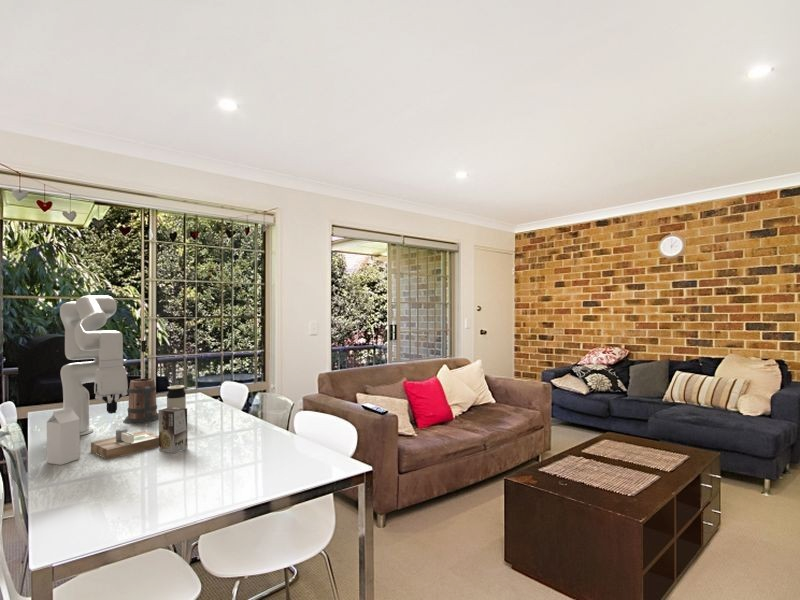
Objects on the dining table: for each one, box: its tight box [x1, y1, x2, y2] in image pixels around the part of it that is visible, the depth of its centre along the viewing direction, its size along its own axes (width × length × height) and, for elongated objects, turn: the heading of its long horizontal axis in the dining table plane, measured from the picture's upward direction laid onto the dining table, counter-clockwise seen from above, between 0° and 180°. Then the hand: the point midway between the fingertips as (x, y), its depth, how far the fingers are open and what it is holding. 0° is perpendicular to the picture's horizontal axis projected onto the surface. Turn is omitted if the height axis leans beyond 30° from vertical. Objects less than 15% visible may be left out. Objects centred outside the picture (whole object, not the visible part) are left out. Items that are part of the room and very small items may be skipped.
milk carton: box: [46, 408, 81, 466], centre depth 169 cm, size 7×7×19 cm
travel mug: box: [166, 384, 187, 408], centre depth 220 cm, size 8×8×18 cm
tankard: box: [122, 377, 159, 425], centre depth 227 cm, size 24×17×20 cm
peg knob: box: [115, 428, 134, 443], centre depth 180 cm, size 10×4×4 cm, turn 53°
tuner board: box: [90, 430, 159, 460], centre depth 184 cm, size 16×20×4 cm
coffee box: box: [157, 407, 189, 454], centre depth 181 cm, size 9×6×16 cm
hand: (111, 412), depth 173 cm, fingers closed
